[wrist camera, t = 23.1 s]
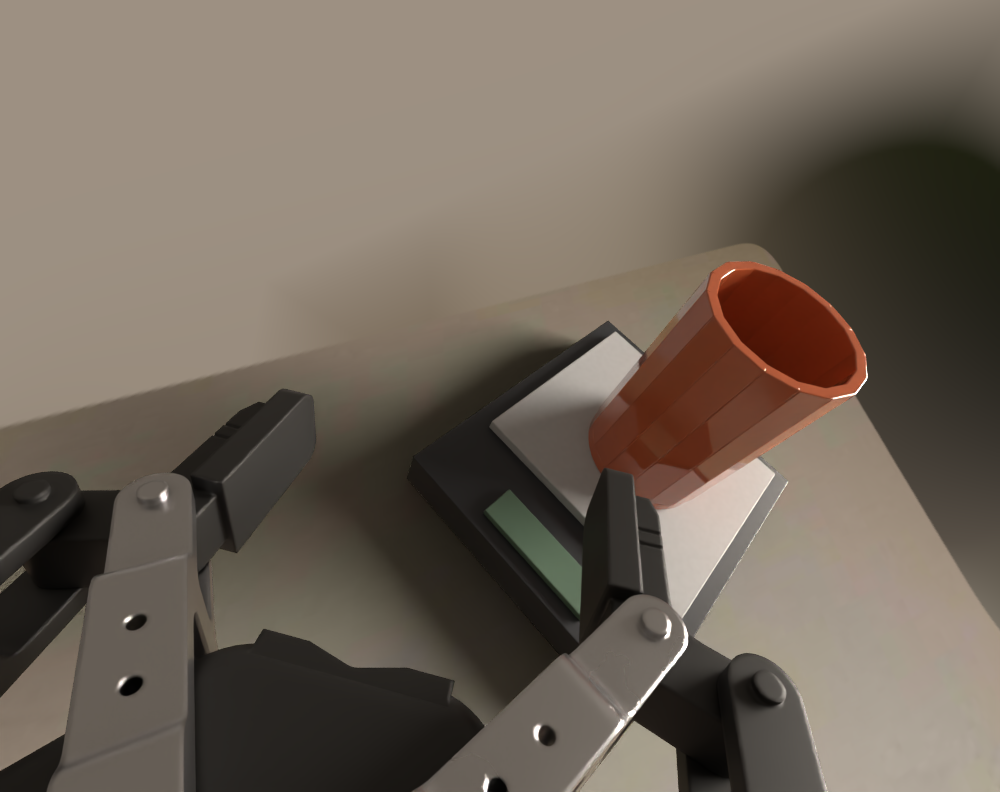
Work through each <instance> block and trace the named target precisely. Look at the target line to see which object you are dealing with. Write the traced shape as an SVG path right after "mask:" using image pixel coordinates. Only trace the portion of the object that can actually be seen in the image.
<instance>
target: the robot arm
mask: <svg viewBox="0 0 1000 792" xmlns="http://www.w3.org/2000/svg"><path fill="white" fill-rule="evenodd" d="M315 444H316V429H315V413H314V400H313V397H312V396H311V395H309V394H305V393H301V392H296V391H292V390H288V389H281V390H279V391H278V392H277V393H276V394H275V395H274V396H273V397H272V398H271V399H270V400H269V401H267V402H266V403H262V402H257V403H255V404H253V405H251V406H249V407H247V408H244V409H242V410H240V411H239V412H238V413H237V414H236V415H234V416H233V417H232V418H231V419H230V420H229V421H228V422H227V423H226V425H225V426H224V425H223V426H222V427H221V428H220V429H219V430H218V431H217V432H215V435H214V436H211V437H210V438H209V439H208V440H207V441H205V442H204V443H203V444H202V445H201V446H200V447H199V448H198V449H197V450H195V451H194V452H193V453H192V454H191V455H190V456H189V457H188V458H187V459H185V460H184V461H183V462H182V463H181V464H180V465H179V466H178V467H177V468H175V469H174V470H173V471H172V472H171V473H156V474H151V475H147V476H144V477H141V478H139V479H137V480H135V481H133V482H131V483H129V484H128V485H127V486H125V487H124V488H123V489H122V490H99V491H80V488H79V486H78V484H77V482H76V480H75V478H74V477H73V476H71V475H69V474H67V473H63V472H53V471H50V472H41V473H35V474H31V475H28V476H25V477H22V478H19V479H17V480H14V481H12V482H10V483H9V484H7V485H5V486H4V487H2V488H1V489H0V585H1V584H2V583H3V582H5V581H6V580H7V579H8V578H9V577H10V576H11V575H12V574H14V573H15V572H16V571H17V570H18V569H19V568H20V567H21V566H22V565H23V566H24V568H25V570H26V571H25V572H24V573H23V574H21V575H20V576H19V577H18V578H17V579H16V580H15V581H14V582H13V583H12V584H10V585H9V586H8V587H7V588H6V589H5V590H4V591H3V592H2V593H1V594H0V697H1V696H2V695H3V694H4V693H5V692H6V691H7V690H8V689H9V687H10V686H11V685H12V684H13V683H14V682H15V681H16V680H17V679H18V678H19V676H20V675H21V674H22V673H23V672H24V671H25V670H26V669H27V668H28V667H29V666H30V664H31V663H32V662H33V661H34V660H35V659H36V658H37V657H38V656H39V655H40V654H41V652H42V651H43V650H44V649H45V648H46V647H47V646H48V645H49V644H50V643H51V642H52V640H53V639H54V638H55V637H56V636H57V635H58V634H59V633H60V632H61V631H62V629H63V628H64V627H65V626H66V625H67V624H68V623H69V622H70V621H71V620H72V619H73V617H74V616H75V615H76V614H77V613H78V612H79V611H80V610H81V609H82V608H83V607H84V605H85V604H86V603H87V604H86V610H85V616H84V622H83V628H82V634H81V640H80V647H79V653H78V659H77V665H76V671H75V677H74V683H73V689H72V696H71V702H70V708H69V714H68V720H67V726H66V732H65V734H64V735H62V736H61V737H59V738H57V739H55V740H54V741H52V742H50V743H48V744H47V745H45V746H43V747H42V748H40V749H38V750H36V751H35V752H33V753H31V754H29V755H28V756H26V757H24V758H22V759H21V760H19V761H17V762H15V763H14V764H12V765H10V766H9V767H7V768H5V769H3V770H2V771H0V792H579V791H580V790H581V788H582V787H583V786H584V784H585V783H586V782H587V780H588V779H589V778H590V777H591V775H592V774H593V773H594V771H595V770H596V769H597V768H598V766H599V765H600V764H601V762H602V761H603V760H604V759H605V757H606V756H607V755H608V754H609V752H610V751H611V750H612V749H613V747H614V746H615V745H616V743H617V742H618V741H619V740H620V738H621V737H622V736H623V735H624V733H625V732H626V731H627V729H628V728H629V727H630V726H631V724H632V723H633V722H634V721H636V722H637V723H639V724H640V725H642V726H643V727H645V728H646V729H648V730H649V731H651V732H652V733H654V734H655V735H657V736H658V737H660V738H661V739H663V740H665V741H666V742H668V743H669V744H671V745H672V746H674V747H675V748H676V754H677V770H678V787H679V792H828V790H827V786H826V783H825V779H824V775H823V772H822V768H821V765H820V761H819V757H818V754H817V750H816V746H815V743H814V739H813V735H812V732H811V728H810V724H809V721H808V717H807V714H806V710H805V706H804V703H803V700H802V697H801V694H800V692H799V690H798V688H797V687H796V685H795V684H794V682H793V681H792V680H791V678H790V677H789V676H788V675H787V674H786V673H785V672H784V671H783V670H782V669H781V668H780V667H779V666H777V665H776V664H775V663H773V662H772V661H770V660H768V659H766V658H764V657H762V656H759V655H756V654H751V653H744V654H740V655H737V656H736V657H735V658H733V660H730V659H728V658H727V657H725V656H723V655H721V654H720V653H718V652H716V651H714V650H713V649H711V648H709V647H707V646H706V645H704V644H702V643H701V642H699V641H698V640H696V639H695V638H694V637H693V636H691V635H690V634H689V633H688V632H687V630H686V626H685V624H684V622H683V620H682V619H681V617H680V616H679V614H678V613H677V612H676V611H675V610H674V609H673V608H672V605H671V600H670V592H669V585H668V578H667V570H666V563H665V556H664V550H663V541H662V536H661V526H660V519H659V515H658V513H657V511H656V509H655V508H654V506H653V504H652V503H651V501H650V499H648V498H644V497H640V496H636V495H635V486H634V477H633V475H632V474H629V473H625V472H621V471H617V470H613V469H609V468H604V469H603V470H602V473H601V475H600V478H599V480H598V483H597V485H596V488H595V491H594V493H593V496H592V499H591V501H590V504H589V506H588V509H587V513H586V517H585V522H584V530H583V554H582V580H581V605H580V630H579V645H580V646H579V647H578V648H576V649H575V650H574V651H573V652H572V653H571V654H569V655H568V654H567V653H564V654H562V655H561V656H559V657H558V658H557V659H555V660H554V661H553V662H552V663H551V664H550V665H549V666H548V667H547V668H546V669H545V670H544V671H543V672H542V673H541V674H540V675H539V676H537V677H536V678H535V679H534V680H533V681H532V682H531V683H530V684H529V685H528V686H527V687H526V688H525V689H524V690H523V691H522V692H521V693H520V694H519V695H518V696H516V697H515V698H514V699H513V700H512V701H511V702H510V703H509V704H508V705H507V706H506V707H505V708H504V709H503V710H502V711H501V712H500V713H499V714H498V715H497V716H495V717H494V718H493V719H492V720H491V721H490V722H489V723H488V724H487V725H486V726H484V725H483V724H482V722H481V721H480V719H479V718H478V717H477V716H476V715H475V714H474V713H473V712H472V711H471V710H470V709H469V708H468V707H467V706H466V705H464V704H463V703H462V702H461V701H459V700H458V699H456V698H454V697H453V696H451V694H452V690H453V685H454V680H450V679H446V678H443V677H439V676H435V675H432V674H428V673H424V672H421V671H417V670H413V669H410V668H354V667H350V666H348V665H347V664H345V663H343V662H342V661H340V660H339V659H337V658H336V657H334V656H332V655H331V654H329V653H328V652H326V651H324V650H323V649H321V648H320V647H318V646H316V645H315V644H313V643H312V642H310V641H307V640H303V639H300V638H296V637H292V636H289V635H285V634H281V633H278V632H274V631H270V630H267V629H263V630H262V632H261V634H260V635H259V637H258V638H257V640H256V642H255V643H254V644H243V645H236V646H231V647H227V648H223V649H220V650H218V646H217V641H216V633H215V618H214V597H213V577H212V563H211V558H212V557H213V556H214V554H215V553H216V552H217V551H218V549H219V548H220V549H223V550H227V551H231V552H235V553H237V552H238V551H239V550H240V548H241V547H242V546H243V545H244V543H245V542H246V541H247V539H248V538H249V537H250V536H251V534H252V533H253V532H254V530H255V529H256V528H257V527H258V525H259V524H260V523H261V522H262V520H263V519H264V518H265V516H266V515H267V514H268V513H269V511H270V510H271V509H272V507H273V506H274V505H275V504H276V502H277V501H278V500H279V498H280V497H281V496H282V495H283V493H284V492H285V491H286V489H287V488H288V487H289V486H290V484H291V483H292V482H293V480H294V479H295V478H296V477H297V475H298V474H299V473H300V471H301V470H302V469H303V468H304V466H305V465H306V464H307V463H308V461H309V460H310V458H311V456H312V454H313V452H314V448H315Z"/></svg>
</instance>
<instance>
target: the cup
mask: <svg viewBox="0 0 1000 792" xmlns="http://www.w3.org/2000/svg"><path fill="white" fill-rule="evenodd" d="M866 380H867V366H866V356H865V353H864V351H863V349H862V347H861V345H860V343H859V341H858V339H857V337H856V335H855V333H854V331H853V330H852V328H851V327H850V326H849V325H848V324H847V323H846V321H845V320H844V319H843V318H842V317H841V316H840V314H839V313H838V312H837V311H836V310H835V309H834V307H833V306H831V304H829V303H828V302H827V301H826V300H824V299H823V298H822V297H821V296H820V295H818V294H817V293H816V292H814V291H813V290H812V289H811V288H810V287H808V286H807V285H805V284H804V283H802V282H800V281H798V280H797V279H795V278H793V277H791V276H789V275H787V274H785V273H784V272H782V271H780V270H777V269H775V268H772V267H768V266H765V265H761V264H758V263H755V262H750V261H739V262H726V263H724V264H723V265H721V266H720V267H718V268H716V269H715V270H713V271H712V272H711V273H710V274H709V275H708V276H707V277H706V279H705V280H704V281H703V282H702V283H701V285H700V286H699V287H698V288H697V290H696V291H695V292H694V293H693V294H692V296H691V297H690V298H689V299H688V300H687V302H686V303H685V304H684V305H683V307H682V308H681V309H680V310H679V311H678V313H677V314H676V315H675V316H674V317H673V319H672V320H671V321H670V322H669V323H668V325H667V326H666V327H665V328H664V330H663V331H662V332H661V333H660V334H659V336H658V337H657V338H656V339H655V340H654V342H653V343H652V344H651V345H650V346H649V348H648V349H647V350H646V351H645V353H644V354H643V355H642V356H641V357H640V359H639V360H638V361H637V362H636V363H635V365H634V366H633V367H632V368H631V370H630V371H629V372H628V373H627V374H626V376H625V377H624V378H623V379H622V380H621V382H620V383H619V384H618V385H617V386H616V388H615V389H614V390H613V391H612V393H611V394H610V395H609V396H608V397H607V399H606V400H605V401H604V402H603V403H602V405H601V406H600V407H599V410H598V411H597V412H596V414H595V415H594V417H593V419H592V421H591V423H590V427H589V433H588V441H589V448H590V452H591V455H592V458H593V460H594V463H595V465H596V467H597V469H598V470H599V472H600V473H602V470H603V469H604V468H609V469H613V470H617V471H621V472H625V473H629V474H632V475H633V477H634V486H635V495H636V496H640V497H644V498H648V499H650V501H651V503H652V504H653V506H654V508H655V509H671V508H675V507H678V506H680V505H682V504H684V503H685V502H687V501H691V500H692V499H694V498H695V497H697V496H698V495H700V494H702V493H703V492H705V491H706V490H708V489H709V488H711V487H712V486H714V485H716V484H717V483H719V482H720V481H722V480H723V479H725V478H726V477H728V476H730V475H731V474H733V473H734V472H736V471H737V470H739V469H741V468H742V467H744V466H745V465H747V464H748V463H750V462H751V461H753V460H755V459H756V458H758V457H759V456H761V455H762V454H764V453H765V452H767V451H769V450H770V449H772V448H773V447H775V446H776V445H778V444H779V443H781V442H783V441H784V440H786V439H787V438H789V437H790V436H792V435H793V434H795V433H797V432H798V431H800V430H801V429H803V428H804V427H806V426H808V425H809V424H811V423H812V422H814V421H815V420H817V419H818V418H820V417H822V416H823V415H825V414H826V413H828V412H829V411H831V410H832V409H834V408H836V407H837V406H839V405H840V404H842V403H843V402H845V401H846V400H848V399H850V398H851V397H853V396H854V395H856V394H857V392H858V391H859V390H860V388H861V387H862V385H863V384H864V382H865V381H866Z"/></svg>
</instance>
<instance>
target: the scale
mask: <svg viewBox="0 0 1000 792" xmlns="http://www.w3.org/2000/svg"><path fill="white" fill-rule="evenodd" d="M643 354H644V352H643V351H642V350H641V349H639V348H638V347H637V346H636V345H635V344H634V343H633V342H632V341H630V340H629V339H628V338H627V337H626V336H625V335H624V334H623V333H621V332H620V331H619V330H618V329H617V328H616V327H615V326H614V325H612V324H611V323H610V322H609V321H607V322H605V323H604V324H603V325H601V326H600V327H598V328H597V329H595V330H594V331H593V332H591V333H590V334H588V335H587V336H585V337H584V338H583V339H581V340H580V341H578V342H577V343H575V344H574V345H572V346H571V347H570V348H568V349H567V350H565V351H564V352H562V353H561V354H560V355H558V356H557V357H555V358H554V359H552V360H551V361H550V362H548V363H547V364H545V365H544V366H542V367H541V368H540V369H538V370H537V371H535V372H534V373H532V374H531V375H529V376H528V377H527V378H525V379H524V380H522V381H521V382H519V383H518V384H517V385H515V386H514V387H512V388H511V389H509V390H508V391H507V392H505V393H504V394H502V395H501V396H499V397H498V398H496V399H495V400H494V401H492V402H491V403H489V404H488V405H486V406H485V407H484V408H482V409H481V410H479V411H478V412H476V413H475V414H474V415H472V416H471V417H469V418H468V419H466V420H465V421H463V422H462V423H461V424H459V425H458V426H456V427H455V428H453V429H452V430H451V431H449V432H448V433H446V434H445V435H443V436H442V437H441V438H439V439H438V440H436V441H435V442H433V443H432V444H430V445H429V446H428V447H426V448H425V449H423V450H422V451H420V452H419V453H418V454H416V455H415V456H413V459H412V462H411V466H410V469H409V472H408V476H407V479H408V480H409V481H410V482H411V484H412V485H413V486H414V487H415V488H416V489H417V491H418V492H419V493H420V494H421V495H422V496H423V497H424V499H425V500H426V501H427V502H428V503H429V504H430V506H431V507H432V508H433V509H434V510H435V511H436V512H437V514H438V515H439V516H440V517H441V518H442V519H443V521H444V522H445V523H446V524H447V525H448V526H449V527H450V529H451V530H452V531H453V532H454V533H455V534H456V536H457V537H458V538H459V539H460V540H461V541H462V542H463V544H464V545H465V546H466V547H467V548H468V549H469V551H470V552H471V553H472V554H473V555H474V556H475V557H476V559H477V560H478V561H479V562H480V563H481V564H482V566H483V567H484V568H485V569H486V570H487V571H488V572H489V574H490V575H491V576H492V577H493V578H494V579H495V581H496V582H497V583H498V584H499V585H500V586H501V587H502V589H503V590H504V591H505V592H506V593H507V594H508V596H509V597H510V598H511V599H512V600H513V601H514V602H515V604H516V605H517V606H518V607H519V608H520V609H521V611H522V612H523V613H524V614H525V615H526V616H527V617H528V619H529V620H530V621H531V622H532V623H533V624H534V626H535V627H536V628H537V629H538V630H539V631H540V633H541V634H542V635H543V636H544V637H545V638H546V639H547V641H548V642H549V643H550V644H551V645H552V646H553V648H554V649H555V650H556V651H557V652H558V653H559V654H560V656H561V655H562V654H564V653H567V654H568V655H569V654H571V653H572V652H573V651H574V650H575V649H576V648H578V647H579V646H580V645H579V630H580V605H581V580H582V554H583V530H584V522H585V517H586V513H587V509H588V506H589V504H590V501H591V499H592V496H593V493H594V491H595V488H596V485H597V483H598V480H599V478H600V475H601V473H600V472H599V470H598V469H597V467H596V465H595V463H594V460H593V458H592V455H591V452H590V448H589V441H588V433H589V427H590V423H591V421H592V419H593V417H594V415H595V414H596V412H597V411H598V410H599V407H600V406H601V405H602V403H603V402H604V401H605V400H606V399H607V397H608V396H609V395H610V394H611V393H612V391H613V390H614V389H615V388H616V386H617V385H618V384H619V383H620V382H621V380H622V379H623V378H624V377H625V376H626V374H627V373H628V372H629V371H630V370H631V368H632V367H633V366H634V365H635V363H636V362H637V361H638V360H639V359H640V357H641V356H642V355H643ZM787 483H788V480H786V479H785V478H784V477H783V476H782V475H781V474H780V473H779V472H777V471H776V470H775V469H774V468H773V467H772V466H771V465H770V464H769V463H767V462H766V461H765V460H764V459H763V458H762V457H761V456H759V457H758V458H756V459H755V460H753V461H751V462H750V463H748V464H747V465H745V466H744V467H742V468H741V469H739V470H737V471H736V472H734V473H733V474H731V475H730V476H728V477H726V478H725V479H723V480H722V481H720V482H719V483H717V484H716V485H714V486H712V487H711V488H709V489H708V490H706V491H705V492H703V493H702V494H700V495H698V496H697V497H695V498H694V499H692V500H691V501H687V502H685V503H684V504H682V505H680V506H678V507H675V508H671V509H656V511H657V513H658V515H659V519H660V526H661V536H662V541H663V550H664V556H665V563H666V570H667V578H668V585H669V592H670V600H671V605H672V608H673V609H674V610H675V611H676V612H677V613H678V614H679V616H680V617H681V619H682V620H683V622H684V624H685V626H686V630H687V632H688V633H689V634H690V635H691V636H693V637H694V636H695V634H696V633H697V631H698V629H699V628H700V626H701V624H702V623H703V621H704V620H705V618H706V616H707V615H708V613H709V611H710V610H711V608H712V606H713V605H714V603H715V601H716V600H717V598H718V597H719V595H720V593H721V592H722V590H723V588H724V587H725V585H726V583H727V582H728V580H729V578H730V577H731V575H732V573H733V572H734V570H735V569H736V567H737V565H738V564H739V562H740V560H741V559H742V557H743V555H744V554H745V552H746V550H747V549H748V547H749V546H750V544H751V542H752V541H753V539H754V537H755V536H756V534H757V532H758V531H759V529H760V527H761V526H762V524H763V522H764V521H765V519H766V518H767V516H768V514H769V513H770V511H771V509H772V508H773V506H774V504H775V503H776V501H777V499H778V498H779V496H780V494H781V493H782V491H783V490H784V488H785V486H786V485H787Z"/></svg>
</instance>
